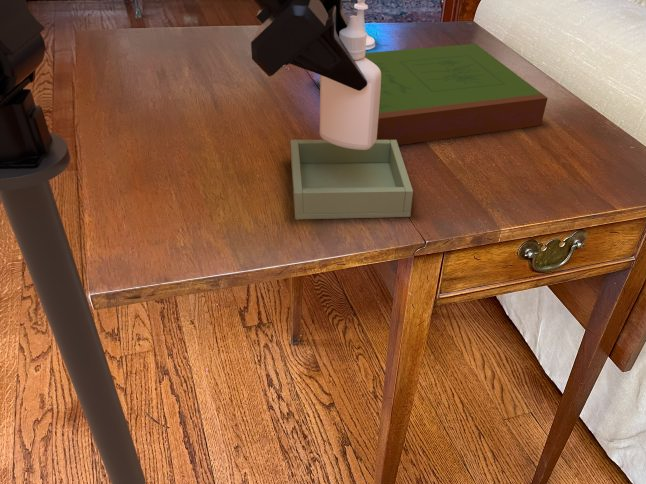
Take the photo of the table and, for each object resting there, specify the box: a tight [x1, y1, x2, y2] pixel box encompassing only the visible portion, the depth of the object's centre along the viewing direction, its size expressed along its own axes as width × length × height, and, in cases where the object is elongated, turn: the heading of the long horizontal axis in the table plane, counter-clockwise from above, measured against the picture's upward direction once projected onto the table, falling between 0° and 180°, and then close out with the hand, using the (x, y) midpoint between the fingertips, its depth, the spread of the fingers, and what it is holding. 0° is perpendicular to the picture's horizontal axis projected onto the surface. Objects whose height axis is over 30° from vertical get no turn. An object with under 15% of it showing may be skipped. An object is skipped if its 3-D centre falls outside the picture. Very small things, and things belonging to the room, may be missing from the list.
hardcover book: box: [317, 43, 549, 146], centre depth 84 cm, size 25×19×4 cm
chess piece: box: [353, 0, 376, 51], centre depth 96 cm, size 5×5×10 cm
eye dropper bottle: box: [319, 14, 381, 150], centre depth 60 cm, size 4×6×12 cm
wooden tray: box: [290, 139, 414, 221], centre depth 67 cm, size 12×11×3 cm
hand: (365, 78), depth 60 cm, fingers closed on eye dropper bottle, 4 cm apart
